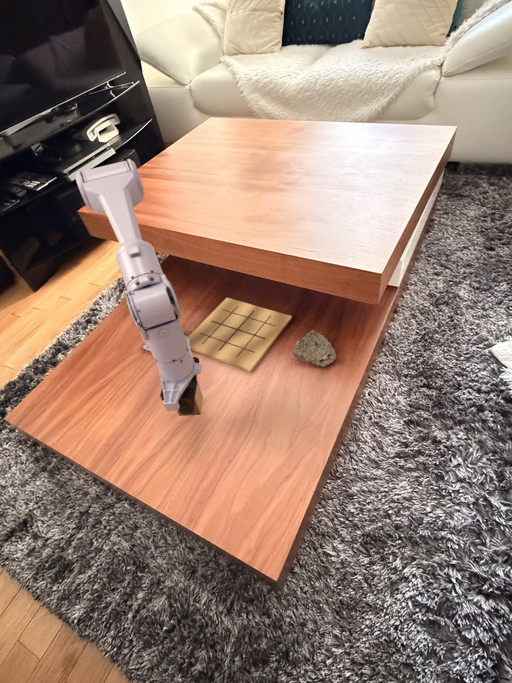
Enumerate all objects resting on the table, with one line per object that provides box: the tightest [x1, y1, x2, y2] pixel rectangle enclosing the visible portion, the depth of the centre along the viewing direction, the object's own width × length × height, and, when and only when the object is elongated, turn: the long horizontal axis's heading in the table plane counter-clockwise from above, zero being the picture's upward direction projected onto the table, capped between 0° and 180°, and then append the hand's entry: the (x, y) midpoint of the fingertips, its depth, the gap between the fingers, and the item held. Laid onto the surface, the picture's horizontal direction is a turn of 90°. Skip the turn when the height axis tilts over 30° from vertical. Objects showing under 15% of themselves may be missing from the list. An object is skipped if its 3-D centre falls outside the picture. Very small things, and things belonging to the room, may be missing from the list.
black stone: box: [177, 380, 204, 417], centre depth 70 cm, size 4×4×5 cm
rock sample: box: [291, 330, 337, 368], centre depth 86 cm, size 10×8×9 cm
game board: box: [186, 297, 293, 373], centre depth 96 cm, size 20×20×1 cm
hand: (189, 402), depth 71 cm, fingers closed on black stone, 4 cm apart
